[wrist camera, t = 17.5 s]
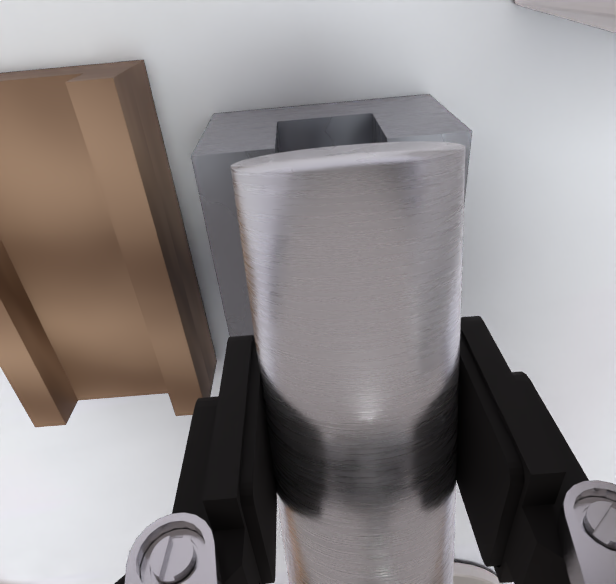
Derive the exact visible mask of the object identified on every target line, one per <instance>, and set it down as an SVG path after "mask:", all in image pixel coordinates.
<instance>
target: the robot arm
mask: <svg viewBox="0 0 616 584" xmlns="http://www.w3.org/2000/svg"><path fill="white" fill-rule="evenodd" d="M456 480H457V483H458V486H459V489H460V493H461V496H462V499H463V502H464V505H465V508H466V511H467V514H468V517H469V520H470V523H471V526H472V529H473V532H474V535H475V538H476V541H477V544H478V548H479V551H480V554H481V557H482V559H483V562H484V564H485V565H486V566H487V567H489V566H494V569H495V572H496V574H497V576H496V575H495V574H493V573H491V572H489V571H487V570H485V569H483V568H480V567H477V566H474V565H470V564H464V563H458V562H454V570H453V584H503V583H506V582H514V583H515V584H616V485H615V484H613V483H608V482H603V481H598V480H595V481H589V480H588V478H587V476H586V475H585V473H584V471H583V469H582V468H581V466H580V464H579V463H578V461H577V459H576V457H575V456H574V454H573V452H572V451H571V449H570V447H569V446H568V444H567V442H566V440H565V439H564V437H563V435H562V434H561V432H560V430H559V428H558V427H557V425H556V423H555V422H554V420H553V418H552V416H551V415H550V413H549V411H548V410H547V408H546V406H545V404H544V403H543V401H542V399H541V398H540V396H539V394H538V392H537V391H536V389H535V387H534V386H533V384H532V382H531V380H530V379H529V378H528V376H527V375H526V374H525V373H523V372H511V370H510V369H509V367H508V365H507V363H506V361H505V360H504V358H503V356H502V354H501V352H500V350H499V349H498V347H497V345H496V343H495V341H494V340H493V338H492V336H491V334H490V332H489V330H488V329H487V327H486V325H485V323H484V321H483V320H482V318H481V317H480V316H472V317H461V323H460V358H459V393H458V429H457V464H456ZM276 514H277V489H276V482H275V475H274V467H273V460H272V453H271V446H270V439H269V432H268V424H267V417H266V410H265V403H264V396H263V388H262V381H261V374H260V369H259V365H258V358H257V351H256V344H255V338H254V335H245V336H234V337H229V338H228V342H227V348H226V354H225V361H224V367H223V373H222V379H221V386H220V392H219V396H218V397H206V398H198V399H197V401H196V404H195V407H194V412H193V416H192V421H191V426H190V431H189V436H188V440H187V445H186V450H185V455H184V459H183V464H182V469H181V474H180V478H179V483H178V488H177V493H176V497H175V502H174V507H173V512H172V514H170V515H167V516H164V517H162V518H159V519H158V520H156V521H155V522H153V523H152V524H150V525H149V526H148V527H146V528H145V529H144V531H143V532H142V533H141V534H140V535H139V536H138V537H137V538H136V540H135V542H134V544H133V546H132V548H131V550H130V552H129V556H128V560H127V564H126V574H125V575H124V576H123V577H122V578H121V579H119V580H118V581H117V582H116V583H115V584H266V583H274V582H275V566H276Z"/></svg>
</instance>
